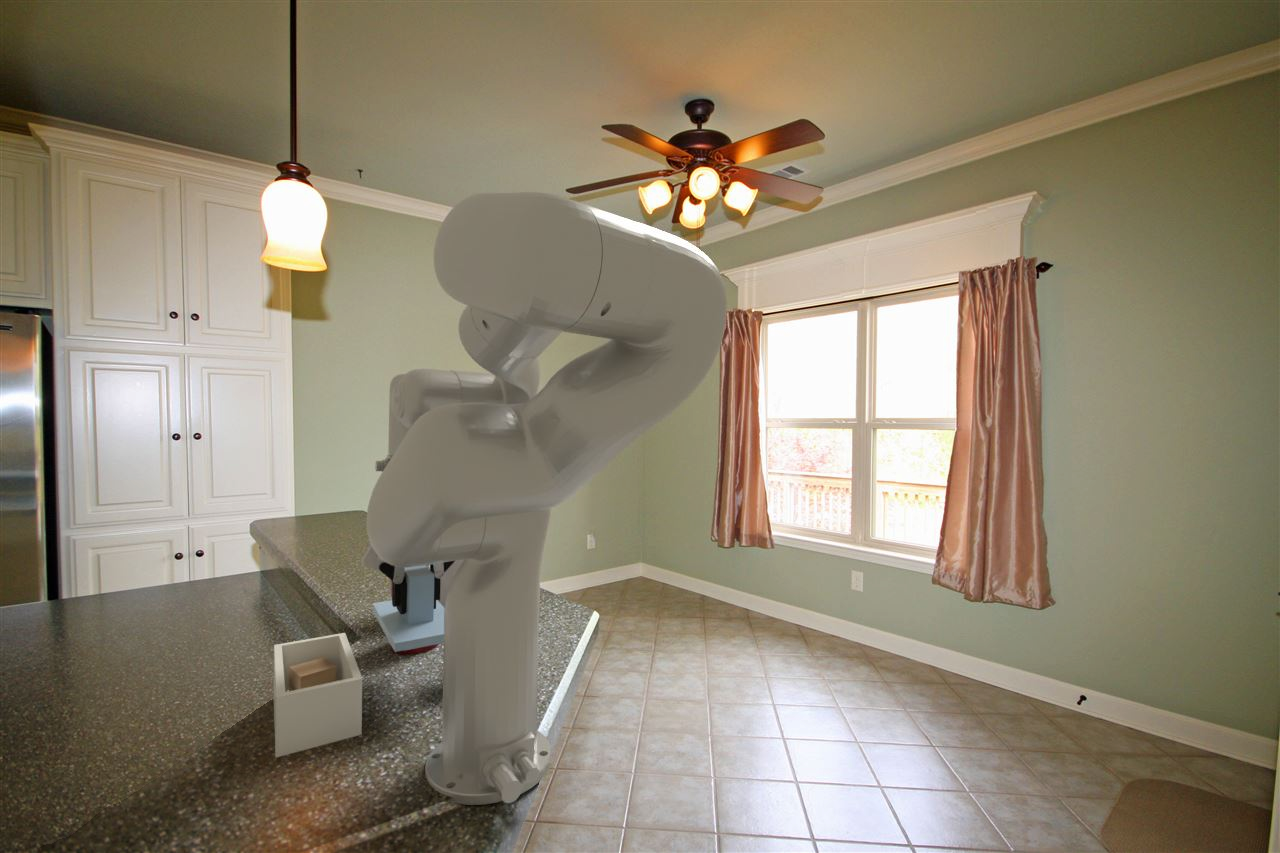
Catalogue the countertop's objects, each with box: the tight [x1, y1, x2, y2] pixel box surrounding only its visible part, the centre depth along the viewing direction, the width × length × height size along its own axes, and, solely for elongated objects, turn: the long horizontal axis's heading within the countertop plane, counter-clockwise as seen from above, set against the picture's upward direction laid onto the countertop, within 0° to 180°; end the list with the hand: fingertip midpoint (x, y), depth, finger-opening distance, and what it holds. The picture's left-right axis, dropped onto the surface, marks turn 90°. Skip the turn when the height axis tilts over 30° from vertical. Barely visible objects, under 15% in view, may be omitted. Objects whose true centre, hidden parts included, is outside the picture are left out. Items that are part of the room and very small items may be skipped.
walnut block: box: [289, 657, 336, 691], centre depth 70 cm, size 4×4×4 cm
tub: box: [273, 632, 363, 758], centre depth 66 cm, size 16×8×7 cm, turn 34°
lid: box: [372, 566, 444, 652], centre depth 73 cm, size 16×8×8 cm, turn 34°
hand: (416, 607), depth 73 cm, fingers closed on lid, 3 cm apart
